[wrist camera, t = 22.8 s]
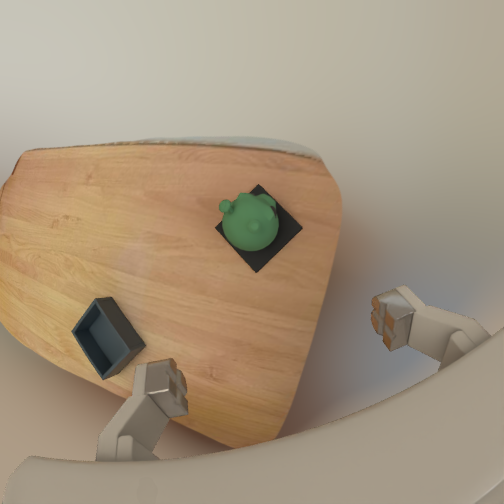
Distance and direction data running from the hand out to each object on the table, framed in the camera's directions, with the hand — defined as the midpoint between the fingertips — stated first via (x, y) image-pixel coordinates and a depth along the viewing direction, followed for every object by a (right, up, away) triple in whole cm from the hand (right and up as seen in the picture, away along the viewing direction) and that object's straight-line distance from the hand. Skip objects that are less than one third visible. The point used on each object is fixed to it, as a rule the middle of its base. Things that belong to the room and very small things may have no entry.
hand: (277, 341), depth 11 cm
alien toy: (0, +7, +31) cm, 32 cm away
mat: (0, +7, +31) cm, 32 cm away
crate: (-26, -12, +36) cm, 46 cm away
